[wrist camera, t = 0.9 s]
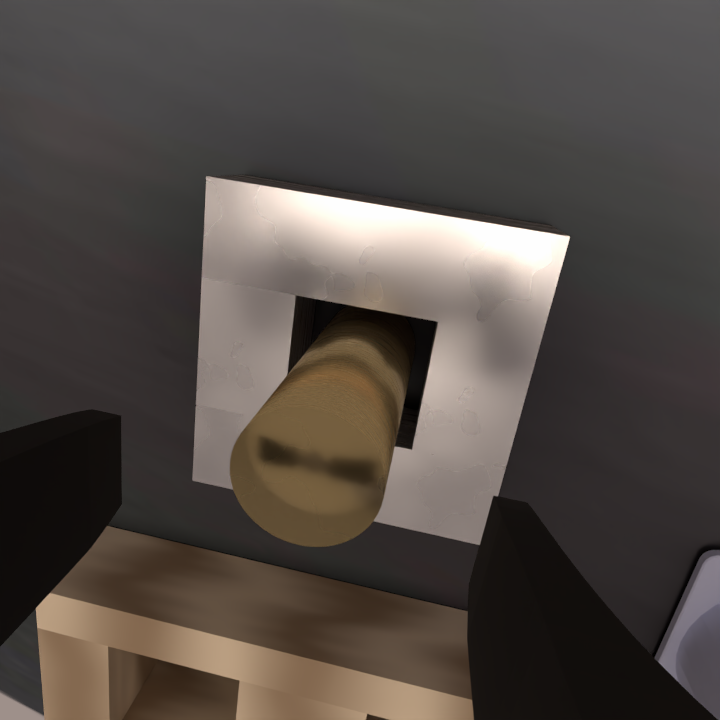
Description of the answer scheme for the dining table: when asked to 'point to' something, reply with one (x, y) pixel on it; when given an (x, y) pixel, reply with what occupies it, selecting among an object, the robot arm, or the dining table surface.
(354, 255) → the socket block
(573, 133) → the dining table surface
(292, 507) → the tan brown peg
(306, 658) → the rack
